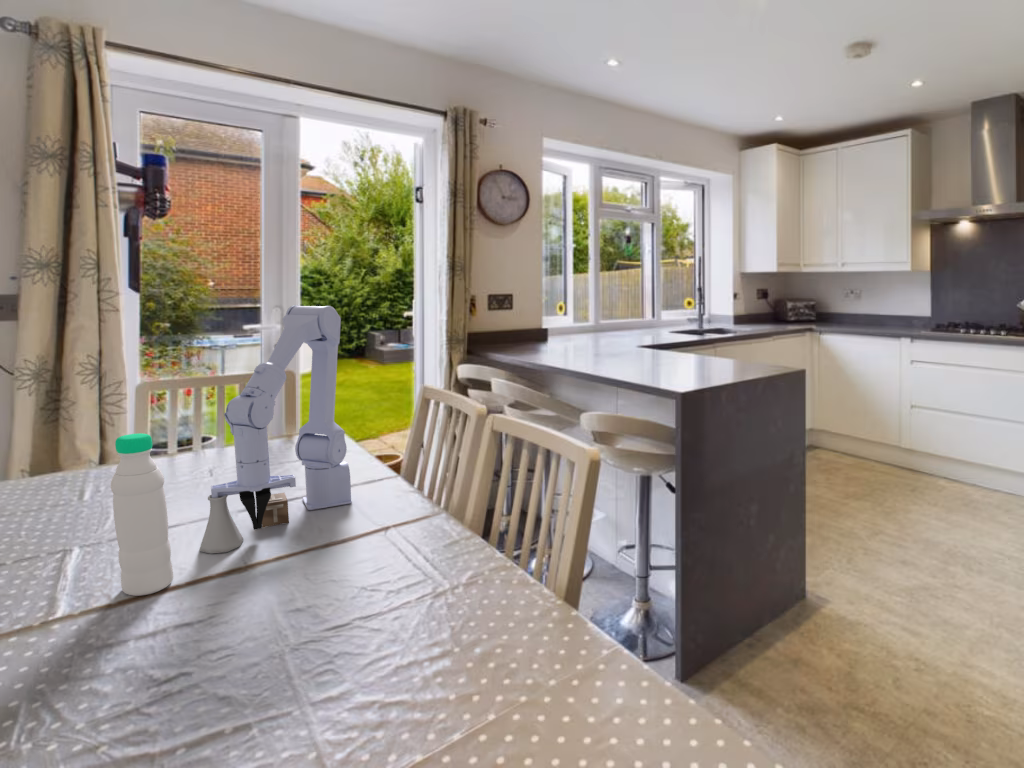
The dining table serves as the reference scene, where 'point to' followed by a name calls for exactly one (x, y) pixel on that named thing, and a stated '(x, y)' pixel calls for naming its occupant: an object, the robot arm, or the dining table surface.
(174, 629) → the dining table surface
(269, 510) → the lettered block
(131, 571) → the water bottle
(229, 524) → the flask
